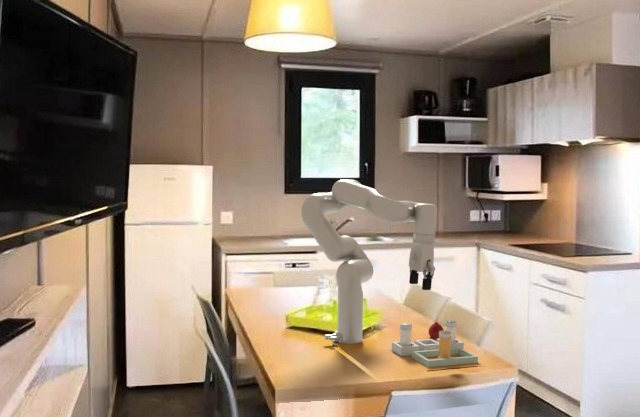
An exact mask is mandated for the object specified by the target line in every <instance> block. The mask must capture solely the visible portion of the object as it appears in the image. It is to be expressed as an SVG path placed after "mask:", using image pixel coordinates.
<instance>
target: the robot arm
mask: <svg viewBox="0 0 640 417" xmlns="http://www.w3.org/2000/svg"><path fill="white" fill-rule="evenodd" d="M303 200H304V201H303V202H302V205H301V209H300V210H301V218H302V221H303V223H304V225H305V227H306V228H307V229H308V231H309V232H310V233H311V234H312V236H313V237H314V239H315V241H316V243H317V244H318V246H319V247H320V249H321V251H322V252H323V253H324V255H325V256H326V258H327V259H328V260H329V261H330V262H334V263H335V262H336V263H337V262H338V263H339V262H341V263H340V264H339V266H338V267H337V269H336V273H335V274H336V275H335V276H336V286H337V320H336V322H337V325H336V326H337V327H336V328H337V329H336V330H335V331H334V333H332V334H329V333H328V334H324V339H325V340H326V341H327V340H330V341H332V344H333V345H334V346H336V347H340V346H339V345H337V344H336V343H335V342H337V343H339V344H347V345H348V344H349V345H350V344H351V345H353V344H359V343H362V342H363V327H364V325H363V324H364V323H363V322H364V321H363V320H364V291H363V287H362V286H363V285H362V284H364V283H366V282H368V281H369V280H372V277H373V275H374V266H373V264H372V261H371V259H370V258H369V257H368V255H367V254H366V253H365V252H364V249H362V247H361V245H360V244H359V242H358V241H357V240H355V238H354V237H352V236H350V235H346V234H345V235H340V234H339V232H338V231H337V230H336V228H335V227H334V225H333V224H332V223H331V222H330V221H329V220H328V219H327V218H326V217H325V216H327V215H333V214H336V213H338V212H339V211H342V210H343V209H346V208H347V207H349V206H352V207H355V208H358V209H361V210H364V211H366V212H368V213H369V214H372V215H374V216H376V217H378V218H380V219H381V218H382V219H384V220H387V221H388V222H392V223H398V224H402V223H409V222H411V223H412V222H413V233H412V234H413V235H412V244H411V246H410V252H409V258H408V267H409V281H408V282H409V285H417V284H419V277H420V275H419V274H420V273H422V275H423V278H422V286H421V290H423V291H431V290H432V284H433V283H432V282H433V277H434V274H435V270H436V267H435V265H434V259H435V255H434V254H435V253H434V252H435V251H434V249H435V248H434V245H435V241H436V239H435V238H436V230H437V229H436V227H437V215H438V207H437V205H436V204H434V203H426V202H425V203H424V202H417V201H416V202H415V201H411V200H396V199H392V198H389V197H386V196H384V195H381V194H379V193H378V191H377V189H375V188H373V187H370V186H366V185H363V184H361V182H360V181H358V180H355V179H346V178H345V179H340V180H337V181H335V183H333V185H332V188H331V191H330V192H317V193H315V192H314V193H312V194H310V195H308V196H307V197H305V199H303Z"/></svg>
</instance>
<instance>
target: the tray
mask: <svg viewBox="0 0 640 417" xmlns="http://www.w3.org/2000/svg"><path fill="white" fill-rule="evenodd" d="M455 355H457V356H456V357H451V358H445V359H438V358H436V357H438V356H439V349H438V350H426V351H413V352H412V356H411V358H412V359H414V360H415V361H417V362H419V363H420V364H422V365H423V366H425V367H427V368H434V367H435V368H436V367H442V366H446V367H447V366H455V365H457V366H458V365H465V364H468V365H469V364H478V363H479V356H478V355H476V354H473V353H472V352H470V351H467V350H466V349H462V348H451V356H455ZM458 356H459V357H458ZM433 357H435V359H429V358H433ZM478 367H479V366H478V365H473V366H472V365H471V366H461V367H450V368H449V367H448V368H440V369H429V370H428V369H427V370H426V372H437V371H446V370H457V369H458V370H460V369H469V368H478Z"/></svg>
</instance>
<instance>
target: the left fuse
mask: <svg viewBox="0 0 640 417" xmlns="http://www.w3.org/2000/svg"><path fill="white" fill-rule="evenodd" d="M412 328H413V325H412V323H409V322H401V323H399V330H400V331H399V341H400V345H401V346H411V342H412V332H413V331H412Z"/></svg>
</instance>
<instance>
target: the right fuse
mask: <svg viewBox="0 0 640 417" xmlns="http://www.w3.org/2000/svg"><path fill="white" fill-rule="evenodd" d="M457 324H458V323H457V321H456V320H453V319H446V320H444V331H450V332H451V343H452V342H456V339H457Z"/></svg>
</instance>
